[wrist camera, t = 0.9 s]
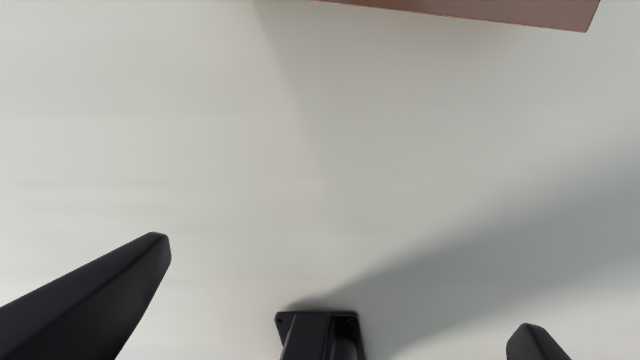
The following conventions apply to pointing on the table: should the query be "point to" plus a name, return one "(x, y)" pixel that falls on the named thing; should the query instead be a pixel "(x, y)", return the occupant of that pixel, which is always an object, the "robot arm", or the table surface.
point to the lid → (498, 10)
